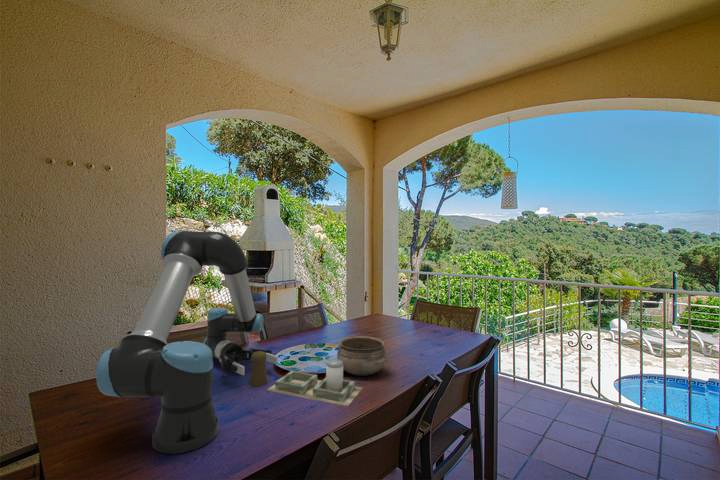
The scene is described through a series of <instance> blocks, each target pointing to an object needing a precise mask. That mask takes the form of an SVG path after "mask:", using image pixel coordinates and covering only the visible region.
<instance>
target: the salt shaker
mask: <svg viewBox="0 0 720 480" xmlns="http://www.w3.org/2000/svg"><path fill="white" fill-rule="evenodd" d="M325 366H326V370H325V373H326V374H325V378H326V389H327V390H333V391H338V392H341V391H342V390H343V379H344V369H343V361H342V360H340V359H337V358H331V359H328V360H327V361H326V365H325Z"/></svg>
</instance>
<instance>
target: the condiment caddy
mask: <svg viewBox="0 0 720 480" xmlns="http://www.w3.org/2000/svg"><path fill="white" fill-rule="evenodd" d="M362 389H363V387H360V386H356V381H355V380H349V379H344V378H343V390H342V391H341V392H338V391H333V390H327V389H326V377H324V379H322V380H320V379H318V374H314V373H309V372H308V373H307V372H302V371H295V370H290V371H289V372H287V373H286V374H285V375H283V376H282V377H281V378H279V379H277V380H275V382H274V384H273V385H272V386H270V387H268V388H267V389H266V390H265V394H266V395H267V394H268V393H269V392H273V393H278V394H283V395H287V396H291V397H292V396H293V397H298V398H303V399H307V400H313V401H318V402H323V403H326V404H327V403H328V404H333V405H337V406H343V407H347V408H348V407H349V405H350V404H351V403H352V402H353V401H354V400H355V398H356V397H357V396H358V395H359V393H360V392H361V391H362Z"/></svg>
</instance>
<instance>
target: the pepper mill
mask: <svg viewBox="0 0 720 480" xmlns="http://www.w3.org/2000/svg"><path fill="white" fill-rule="evenodd" d="M250 361H251V362H252V365H251V371H250V378H249V386H250V387H255V388H257V387H258V388H259V387H263V386H266V385H267V384H268V380H267V370H266V353H265V352H263V351H257V352H254V353H253V354H252V356H251V359H250Z"/></svg>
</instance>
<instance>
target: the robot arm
mask: <svg viewBox="0 0 720 480" xmlns="http://www.w3.org/2000/svg"><path fill="white" fill-rule="evenodd" d="M161 248H162V249H161V250H160V257H161V259H162V263H163V265H164V267H165V268H164V269H163V271H162V274H161V275H160V278H159V279H158V282H157V283H156V285H155V288H154V289H153V292H152V293H151V296H150V298H149V299H148V301H147V303H146V305H145V307H144V310H143V311H142V313H141V316H140V317H139V319H138V321H137V324H136V325H135V326H134V329H133V331H132V332H131V333H128V334H126V335H124V336H123V338H122V339H121V341H120V343H119V345H118V346H117V347H116V346H114V347H112V348H109V349H108V350H106V351H104V352H103V353H102V355H100V358H99V359H98V362H97V365H96V370H95V379H96V385H97V389H98V390H99V392H100V393H101V394H103V395H105V396H109V397H117V398H123V399H124V398H161V399H160V400H161V402H160V413H159V415H158V419H157V421H156V427H155V428H154V430H153V432H152V439H151V446H152V448H153V449H154V450H155V451H156V452H158V453H161V454H166V455H167V454H168V455H174V454H175V455H177V454H183V453H188V452H191V451H194V450H197V449H199V448H202V447H204V446H206V445H208V444H209V443H210V442H211V441H213V440H214V439H215V438H216V437H217V435H218V433H219V418H218V417H217V415H216V411H215V407H214V405H213V401H212V400H213V397H212V395H213V372H214V371H213V368H214V361H213V357H215V358H216V359H218V360H219V364H221V372H226V371H227V373H230V374H231V373H232V372H235V373H237V374H239V375H241V376H245V373H246V371H245V369H246V368H245V366H244V365H242V364H240V363H238V362H241V361H251V356H252V354H253V353H254V352H257V351H263V352H265V353H266V360H265V362H266V361H267V362H269V363H270V364H274V365H278V359H279V358H278V355H275V354H273V353H272V350H271V349H270V350H269V349H261V348H260V349H259V348H254V347H250V348H249V349H247V350H246V349H243V348H242V347H243V346H241V345H240V344H237V343H235V342H233V341H230V340H228V338H227V337H228V333H249V334H252V333H253V334H254V333H260V332H262V330H263V327H264V323H265V322H264V321H265V320H264V315H263V314H261V313H257V312H256V308H255V304H254V300H253V296H252V291H251V287H250V282H249V277H248V274H247V270H246V269H247V267H248V261H247V257H246V254H245V252H244V250H243V249H242V248H241V246H240V245H239V244H238V242H237V241H235V239H233V238H232V236H229V235H227V234H226V233H223V232H221V231H194V230H193V231H191V230H189V231H188V230H179V231H173V232H171V233H169V234H168V235H167V236H166V237H165V238H164V239H163V241H162V244H161ZM204 266H205V267H207V266H211V267H212V266H213V267H216V268H218V270H219V272H220V273H221V274H222V275H223V276H224V279H225V282H226V283H225V284H226V286H227V289H228V293H229V296H230V299H231V304H232V307H233V310H234V313H229V312H228V309H227V308H225V307H215V308H211V309H209V310H208V312H207V320H206V321H207V328H206V329H207V331H206V333H207V336H206V337H205V338H204V340H203V342H198V341H194V340H193V341H192V340H191V341H190V340H184V341H173V342H169V343H168V341H167V339H168V338H169V336H170V332H171V331H172V328H173V325H174V324H175V321H176V318H177V316H178V314H179V312H180V308H181V306H182V304H183V301H184V299H185V297H186V295H187V292H188V291H189V288H190V284H191V282H192V280H193V278H194V277H195V276H197V275H199V274H200V273H201V272H202V269H203V267H204Z"/></svg>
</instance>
